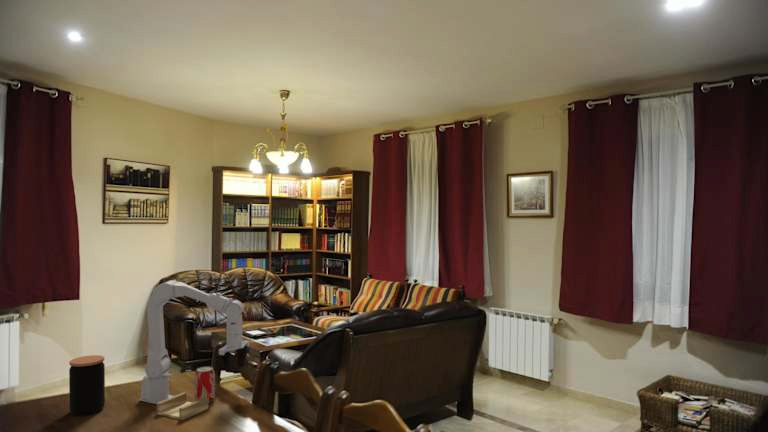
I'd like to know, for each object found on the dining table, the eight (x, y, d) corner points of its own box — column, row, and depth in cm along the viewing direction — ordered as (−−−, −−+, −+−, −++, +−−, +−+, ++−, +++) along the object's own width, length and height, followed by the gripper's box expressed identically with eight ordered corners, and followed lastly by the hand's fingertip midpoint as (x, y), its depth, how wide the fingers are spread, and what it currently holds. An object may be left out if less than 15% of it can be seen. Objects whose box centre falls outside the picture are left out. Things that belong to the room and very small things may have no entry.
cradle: (156, 414, 174) (156, 403, 174) (183, 402, 185) (183, 392, 185) (182, 420, 169) (182, 408, 169) (208, 408, 180) (208, 397, 180)
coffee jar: (111, 407, 180) (111, 357, 180) (82, 418, 171) (82, 365, 171) (91, 403, 185) (91, 353, 185) (62, 413, 175) (62, 361, 175)
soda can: (208, 405, 182) (208, 372, 182) (190, 404, 183) (190, 371, 183) (218, 398, 189) (218, 366, 189) (201, 397, 190) (201, 365, 190)
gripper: (229, 338, 182) (229, 376, 182) (255, 330, 195) (255, 365, 195) (214, 336, 185) (214, 373, 185) (241, 328, 198) (241, 363, 198)
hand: (234, 369), depth 190 cm, fingers open, 6 cm apart
